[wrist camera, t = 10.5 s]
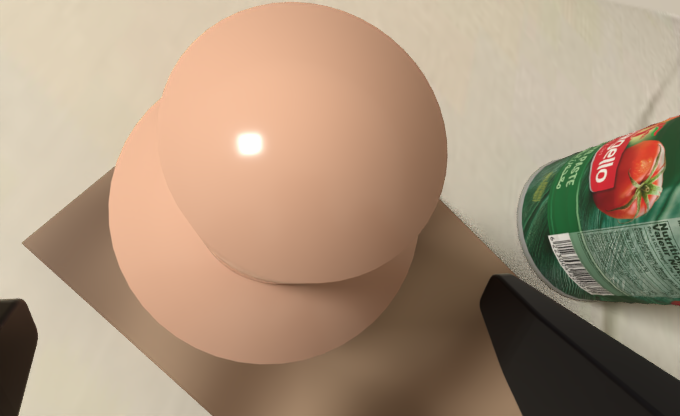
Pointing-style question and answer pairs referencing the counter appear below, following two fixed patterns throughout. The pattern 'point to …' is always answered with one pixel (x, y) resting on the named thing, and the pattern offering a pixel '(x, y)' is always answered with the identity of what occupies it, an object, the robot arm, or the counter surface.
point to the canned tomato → (608, 219)
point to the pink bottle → (278, 184)
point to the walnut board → (333, 366)
